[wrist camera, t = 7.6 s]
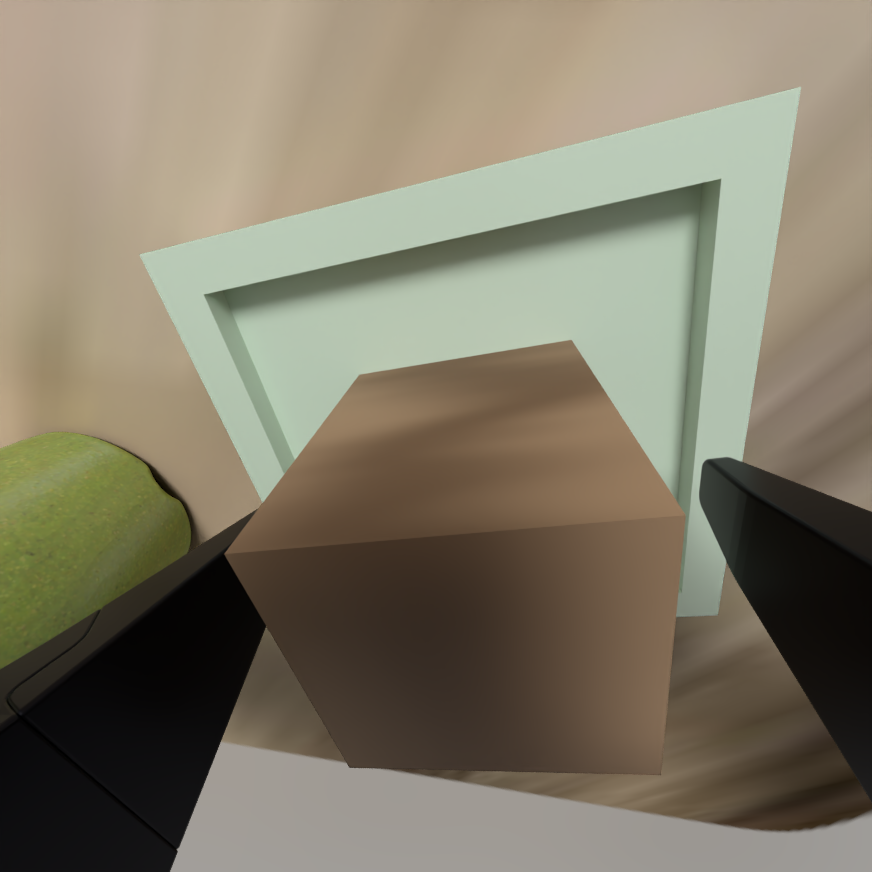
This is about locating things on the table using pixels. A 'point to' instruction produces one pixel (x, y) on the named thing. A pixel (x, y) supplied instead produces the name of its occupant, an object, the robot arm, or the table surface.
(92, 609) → the plant pot
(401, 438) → the walnut block
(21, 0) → the table surface
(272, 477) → the green tray
